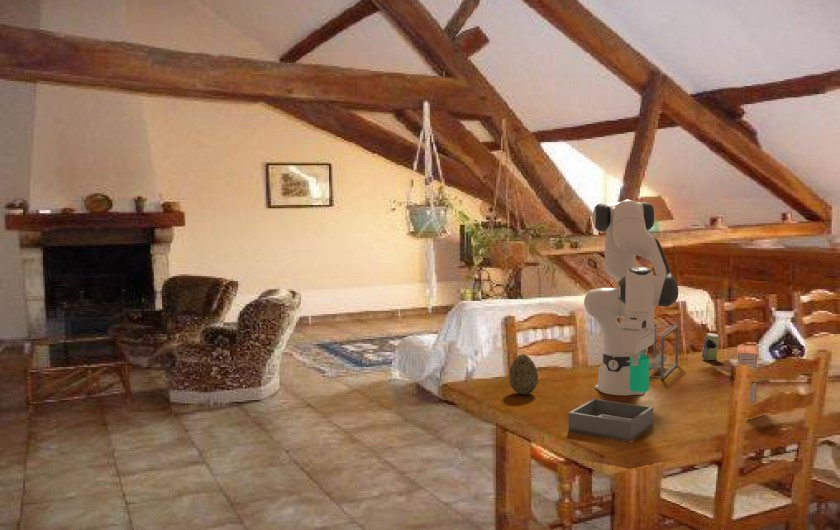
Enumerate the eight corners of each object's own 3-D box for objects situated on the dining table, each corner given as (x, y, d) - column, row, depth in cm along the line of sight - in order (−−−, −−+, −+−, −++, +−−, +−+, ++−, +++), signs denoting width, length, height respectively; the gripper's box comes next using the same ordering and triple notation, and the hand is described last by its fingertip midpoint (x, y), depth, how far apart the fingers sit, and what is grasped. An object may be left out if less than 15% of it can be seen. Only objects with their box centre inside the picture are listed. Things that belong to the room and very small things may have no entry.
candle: (651, 388, 243) (651, 350, 242) (646, 392, 238) (647, 354, 236) (631, 386, 246) (632, 349, 245) (627, 390, 240) (627, 352, 239)
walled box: (593, 416, 257) (593, 398, 257) (653, 425, 246) (653, 407, 245) (568, 431, 241) (568, 412, 241) (630, 442, 230) (631, 422, 229)
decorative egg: (503, 394, 287) (502, 354, 286) (520, 389, 295) (520, 350, 293) (526, 399, 279) (526, 358, 278) (543, 393, 287) (543, 354, 286)
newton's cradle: (663, 380, 307) (663, 336, 305) (636, 377, 312) (637, 334, 310) (678, 365, 333) (678, 324, 331) (653, 363, 338) (654, 323, 336)
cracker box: (735, 403, 271) (737, 344, 270) (754, 404, 269) (756, 345, 267) (736, 413, 258) (737, 352, 257) (756, 415, 256) (757, 353, 254)
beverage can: (706, 358, 347) (706, 331, 346) (721, 360, 341) (722, 333, 340) (698, 360, 343) (699, 333, 342) (714, 362, 337) (715, 335, 336)
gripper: (640, 314, 250) (640, 356, 251) (618, 323, 233) (618, 368, 234) (660, 315, 246) (659, 358, 248) (639, 325, 230) (638, 370, 231)
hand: (639, 363), depth 241 cm, fingers closed on candle, 5 cm apart
